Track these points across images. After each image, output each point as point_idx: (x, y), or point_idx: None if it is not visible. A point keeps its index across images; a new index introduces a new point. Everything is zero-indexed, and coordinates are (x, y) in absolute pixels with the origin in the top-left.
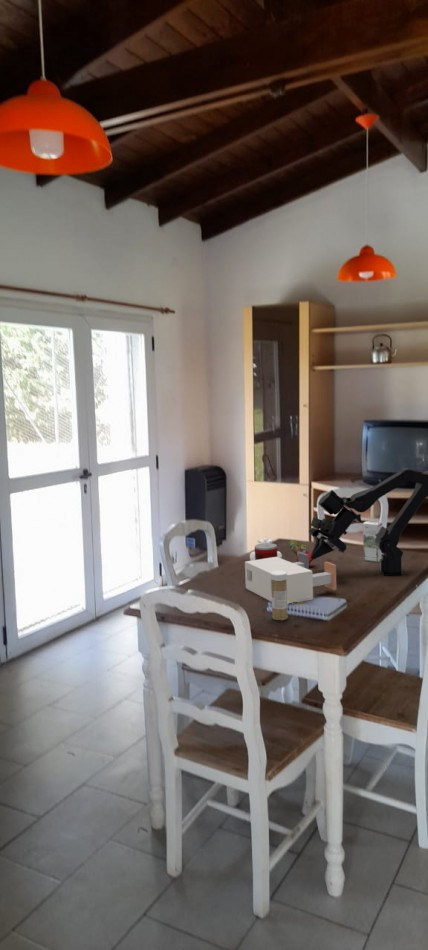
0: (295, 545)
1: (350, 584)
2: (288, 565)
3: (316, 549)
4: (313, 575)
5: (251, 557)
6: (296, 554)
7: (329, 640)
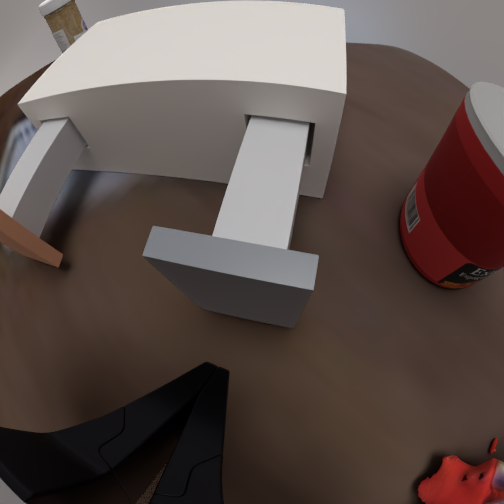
0: None
1: (56, 412)
2: (131, 59)
3: (140, 420)
4: (39, 146)
5: None
6: None
7: (4, 98)
